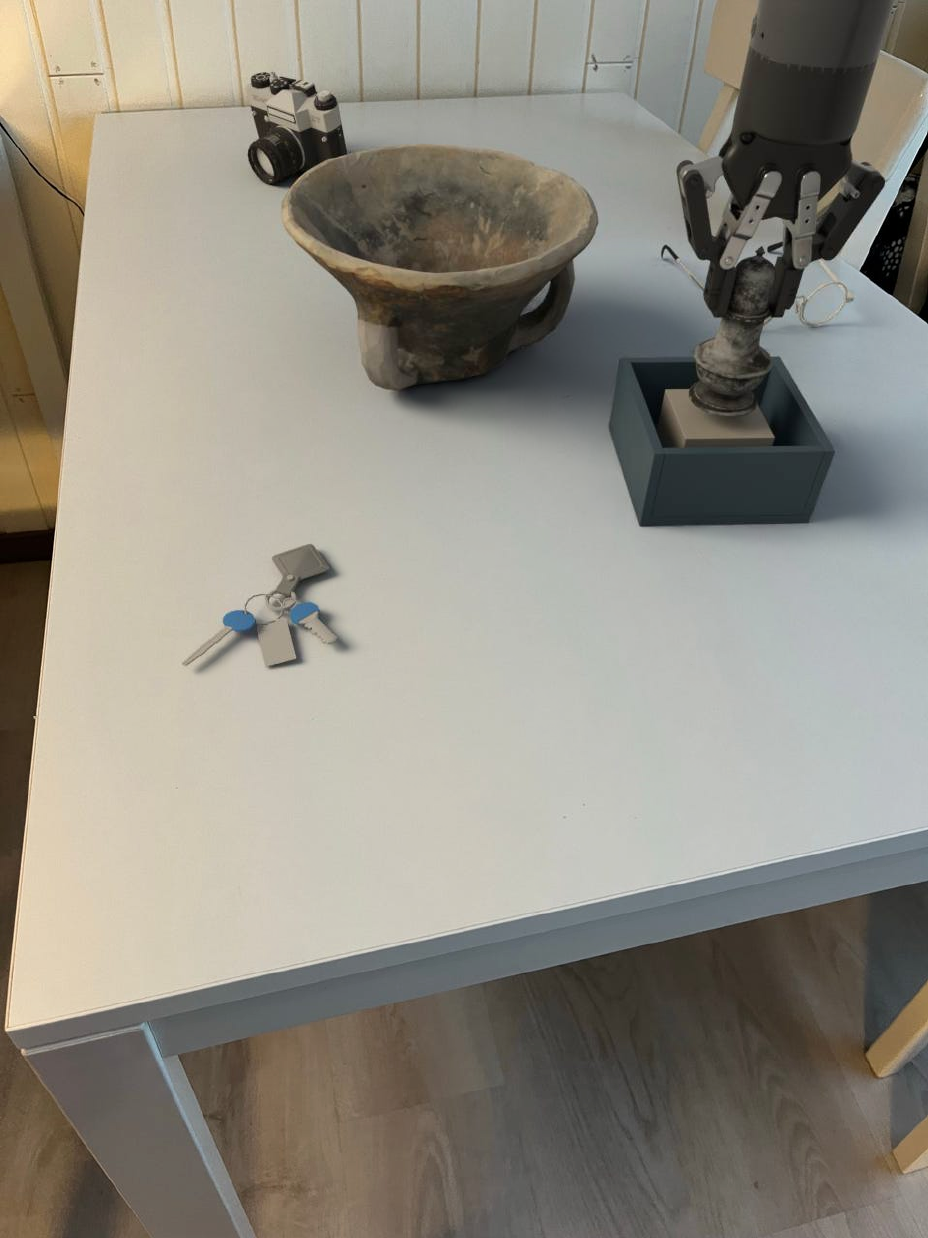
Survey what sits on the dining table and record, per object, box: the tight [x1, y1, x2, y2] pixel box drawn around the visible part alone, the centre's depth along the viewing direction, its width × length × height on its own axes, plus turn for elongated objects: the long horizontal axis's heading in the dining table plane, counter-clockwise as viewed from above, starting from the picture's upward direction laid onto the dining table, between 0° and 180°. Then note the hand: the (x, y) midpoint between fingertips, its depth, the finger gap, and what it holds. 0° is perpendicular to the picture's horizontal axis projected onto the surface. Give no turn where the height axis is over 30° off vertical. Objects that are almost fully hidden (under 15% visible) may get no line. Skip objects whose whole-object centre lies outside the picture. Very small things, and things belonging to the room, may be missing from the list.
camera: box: [245, 71, 349, 185], centre depth 119 cm, size 15×11×10 cm
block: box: [657, 389, 775, 448], centre depth 77 cm, size 7×7×5 cm
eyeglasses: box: [660, 240, 855, 328], centre depth 101 cm, size 16×19×5 cm
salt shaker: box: [689, 245, 776, 417], centre depth 70 cm, size 6×6×12 cm
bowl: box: [280, 143, 599, 391], centre depth 86 cm, size 27×26×15 cm
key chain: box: [181, 543, 338, 668], centre depth 65 cm, size 14×8×1 cm, turn 157°
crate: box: [607, 355, 836, 527], centre depth 77 cm, size 14×14×7 cm
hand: (745, 311), depth 69 cm, fingers closed on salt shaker, 3 cm apart
